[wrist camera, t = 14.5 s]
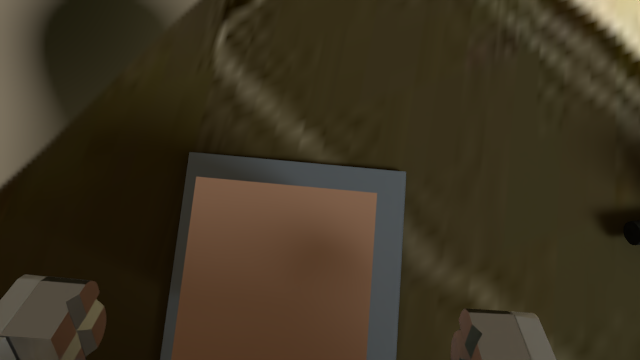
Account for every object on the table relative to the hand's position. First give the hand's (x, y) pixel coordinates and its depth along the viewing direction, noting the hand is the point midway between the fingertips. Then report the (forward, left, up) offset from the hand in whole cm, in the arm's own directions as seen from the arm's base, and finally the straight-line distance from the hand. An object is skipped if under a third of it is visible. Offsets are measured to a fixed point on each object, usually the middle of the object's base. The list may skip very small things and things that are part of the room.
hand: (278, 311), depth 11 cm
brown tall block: (0, -1, -14) cm, 14 cm away
